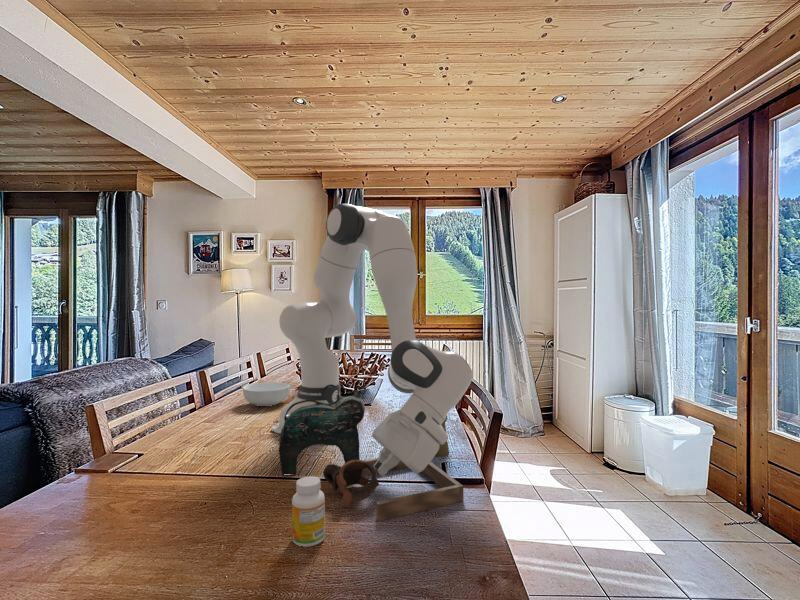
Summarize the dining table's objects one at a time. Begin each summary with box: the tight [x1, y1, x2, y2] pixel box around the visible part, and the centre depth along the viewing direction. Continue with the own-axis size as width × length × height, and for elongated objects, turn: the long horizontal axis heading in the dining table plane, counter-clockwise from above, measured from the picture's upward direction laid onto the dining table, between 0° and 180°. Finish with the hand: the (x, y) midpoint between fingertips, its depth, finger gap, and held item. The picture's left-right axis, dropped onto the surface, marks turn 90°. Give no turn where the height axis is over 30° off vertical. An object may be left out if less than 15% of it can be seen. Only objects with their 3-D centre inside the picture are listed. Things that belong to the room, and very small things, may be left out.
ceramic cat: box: [278, 384, 366, 476], centre depth 101 cm, size 20×6×20 cm, turn 100°
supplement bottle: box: [291, 476, 326, 548], centre depth 73 cm, size 5×5×10 cm
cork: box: [434, 415, 450, 457], centre depth 112 cm, size 6×6×11 cm
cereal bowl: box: [242, 381, 291, 407], centre depth 163 cm, size 17×17×7 cm
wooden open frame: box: [361, 457, 464, 522], centre depth 91 cm, size 18×21×3 cm
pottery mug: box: [322, 459, 380, 508], centre depth 88 cm, size 12×10×8 cm
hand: (377, 471), depth 89 cm, fingers closed, pressing on pottery mug
